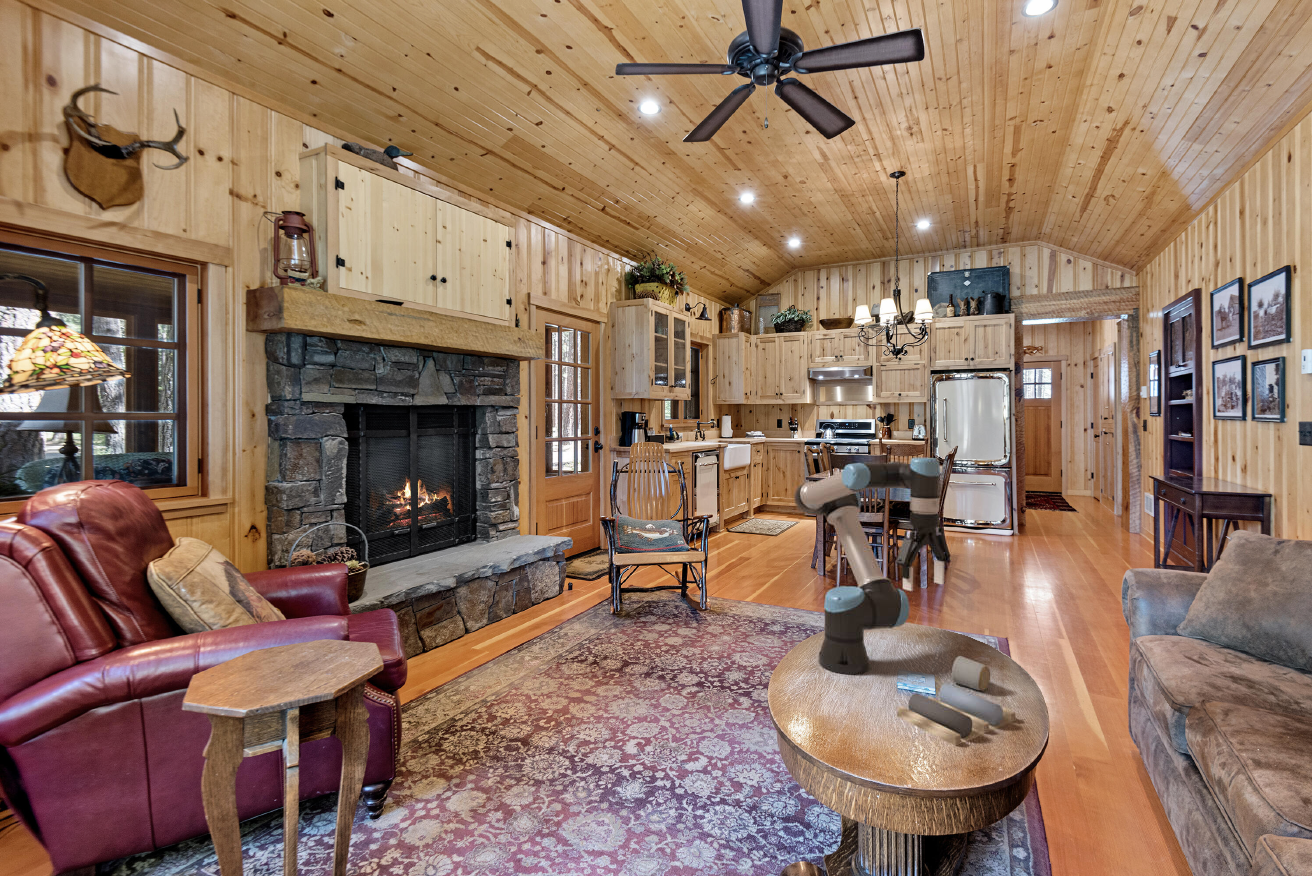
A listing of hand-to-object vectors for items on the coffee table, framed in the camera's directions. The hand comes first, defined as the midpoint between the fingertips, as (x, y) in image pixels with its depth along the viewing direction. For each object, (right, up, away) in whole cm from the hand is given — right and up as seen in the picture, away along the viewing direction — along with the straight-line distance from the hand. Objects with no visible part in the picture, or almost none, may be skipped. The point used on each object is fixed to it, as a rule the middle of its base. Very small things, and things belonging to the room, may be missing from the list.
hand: (923, 586), depth 169 cm
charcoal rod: (-7, -28, -23) cm, 37 cm away
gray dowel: (+4, -28, -17) cm, 33 cm away
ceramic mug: (+15, -29, +2) cm, 32 cm away
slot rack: (0, -29, -19) cm, 35 cm away
